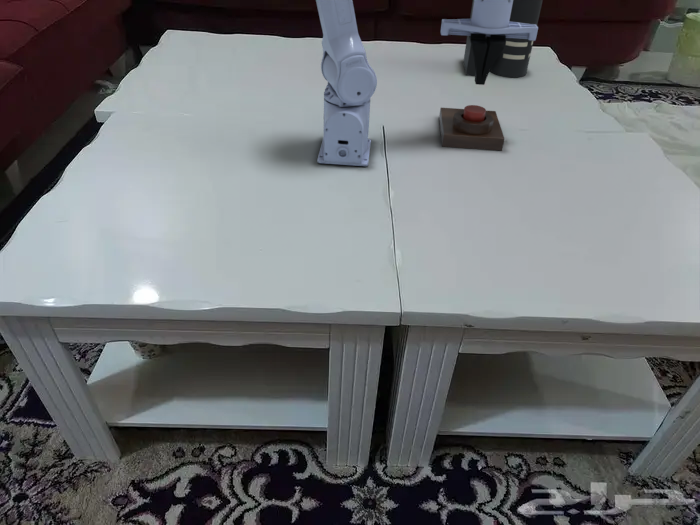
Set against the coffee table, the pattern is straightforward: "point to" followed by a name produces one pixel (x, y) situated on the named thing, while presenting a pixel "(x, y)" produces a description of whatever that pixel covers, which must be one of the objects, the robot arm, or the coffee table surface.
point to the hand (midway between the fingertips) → (479, 82)
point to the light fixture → (510, 43)
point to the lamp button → (474, 113)
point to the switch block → (470, 130)
